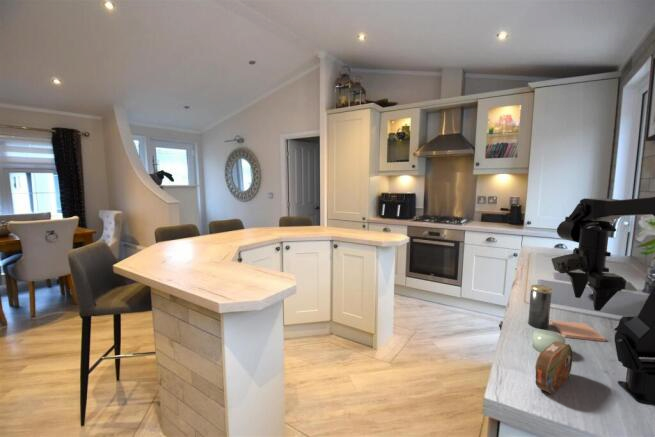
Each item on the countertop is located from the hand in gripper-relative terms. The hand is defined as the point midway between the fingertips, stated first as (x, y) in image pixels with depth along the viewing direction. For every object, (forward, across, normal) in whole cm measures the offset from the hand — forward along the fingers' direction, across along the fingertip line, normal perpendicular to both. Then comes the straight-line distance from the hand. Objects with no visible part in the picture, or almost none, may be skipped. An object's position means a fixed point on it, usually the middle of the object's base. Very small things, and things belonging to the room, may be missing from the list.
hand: (586, 303), depth 84 cm
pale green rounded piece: (+13, +2, -9) cm, 16 cm away
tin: (+13, +18, -14) cm, 27 cm away
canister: (+13, -14, -6) cm, 20 cm away
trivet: (+13, -12, +4) cm, 18 cm away
